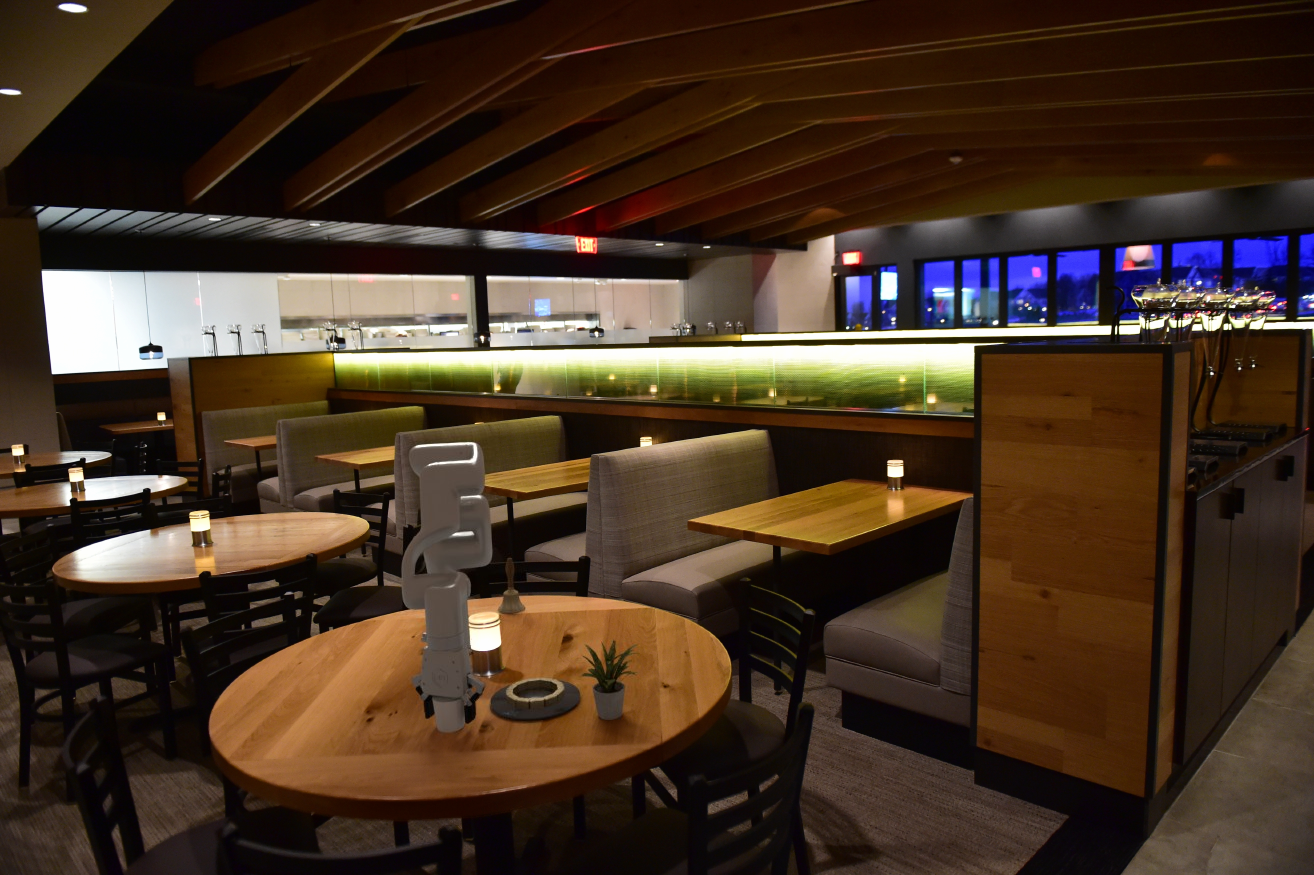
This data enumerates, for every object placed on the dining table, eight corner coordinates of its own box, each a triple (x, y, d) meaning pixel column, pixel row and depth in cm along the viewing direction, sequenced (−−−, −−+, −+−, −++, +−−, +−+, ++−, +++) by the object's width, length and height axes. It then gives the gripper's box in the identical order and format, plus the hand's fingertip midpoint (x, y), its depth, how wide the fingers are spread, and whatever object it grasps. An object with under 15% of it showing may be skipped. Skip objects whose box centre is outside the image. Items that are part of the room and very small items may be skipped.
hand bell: (529, 605, 260) (526, 554, 258) (519, 614, 252) (517, 562, 250) (503, 604, 262) (500, 554, 260) (493, 613, 254) (490, 561, 252)
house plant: (651, 727, 176) (649, 651, 174) (585, 735, 173) (582, 659, 171) (638, 699, 190) (636, 629, 188) (577, 706, 187) (574, 635, 185)
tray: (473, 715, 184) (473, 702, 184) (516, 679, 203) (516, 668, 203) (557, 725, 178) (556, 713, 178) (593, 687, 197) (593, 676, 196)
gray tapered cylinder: (471, 719, 182) (469, 688, 182) (461, 734, 176) (459, 702, 175) (440, 719, 183) (439, 688, 182) (429, 733, 176) (427, 701, 175)
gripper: (399, 643, 176) (405, 721, 178) (472, 650, 171) (477, 731, 173) (420, 631, 183) (425, 707, 185) (490, 637, 178) (495, 715, 180)
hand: (450, 718), depth 179 cm, fingers open, 9 cm apart
